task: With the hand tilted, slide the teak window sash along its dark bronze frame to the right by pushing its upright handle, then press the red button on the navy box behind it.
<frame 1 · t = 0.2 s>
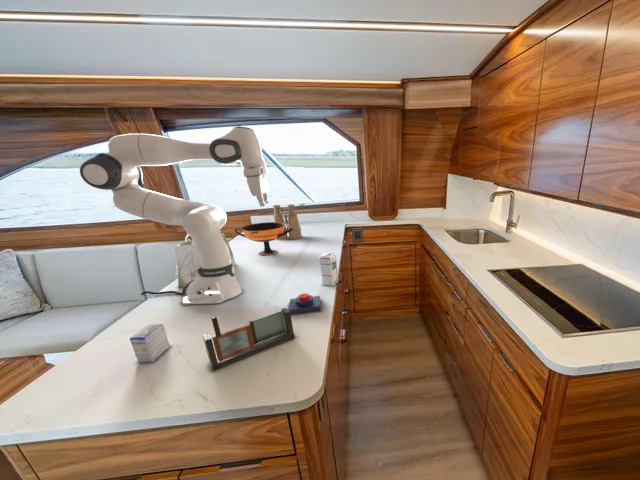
hand: (264, 204, 125), 39 cm above the counter, tool pointing down, fingers open, 8 cm apart
grocery bag: (209, 274, 157), on the counter
button: (303, 297, 119), point 4 cm above the counter, slide at 0.1 cm
binoculars: (288, 237, 230), on the counter
window frame: (255, 350, 93), on the counter
medicine box: (155, 354, 92), on the counter
sash: (232, 334, 87), point 9 cm above the counter, slide at 0.0 cm
cup: (268, 253, 193), on the counter
syrup box: (330, 283, 144), on the counter
button box: (305, 307, 120), on the counter
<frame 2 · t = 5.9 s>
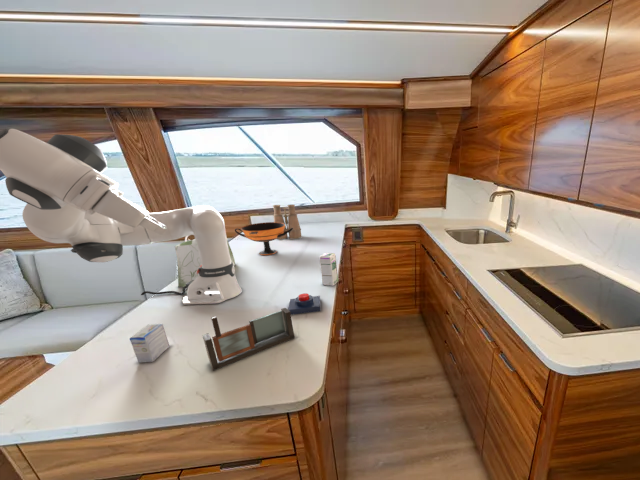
hand: (164, 230, 74), 40 cm above the counter, tool tilted 45°, fingers open, 8 cm apart
nothing on the counter moved.
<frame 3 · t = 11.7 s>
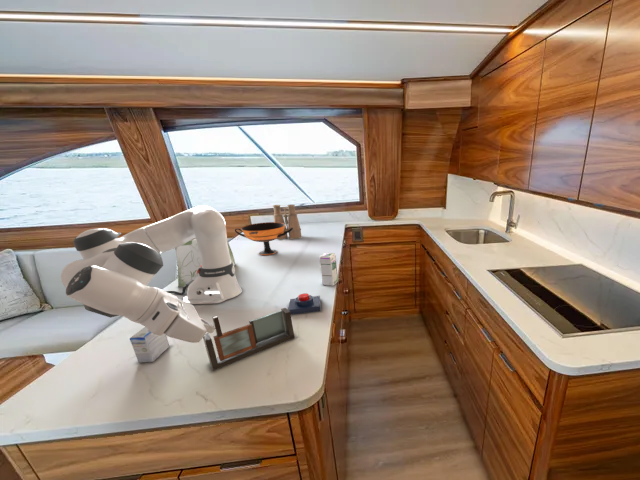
hand: (212, 328, 83), 12 cm above the counter, tool tilted 45°, fingers closed, pressing on sash
sash: (233, 333, 87), point 9 cm above the counter, slide at 0.3 cm, touching gripper
everything else where it was.
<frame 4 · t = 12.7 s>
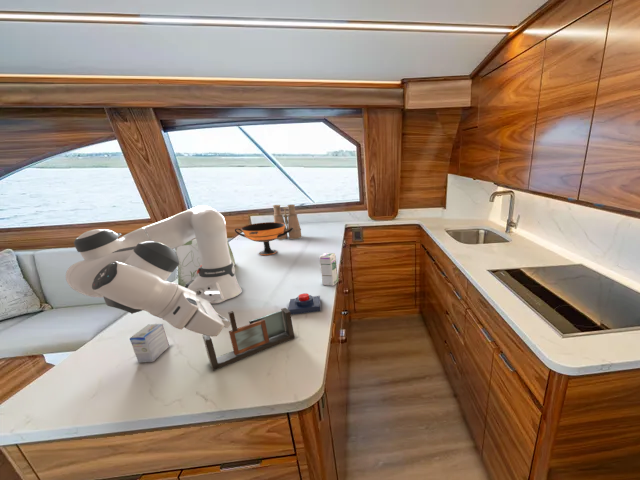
hand: (228, 323, 85), 12 cm above the counter, tool tilted 45°, fingers closed, pressing on sash
sash: (248, 328, 89), point 9 cm above the counter, slide at 4.3 cm, touching gripper
everything else where it was.
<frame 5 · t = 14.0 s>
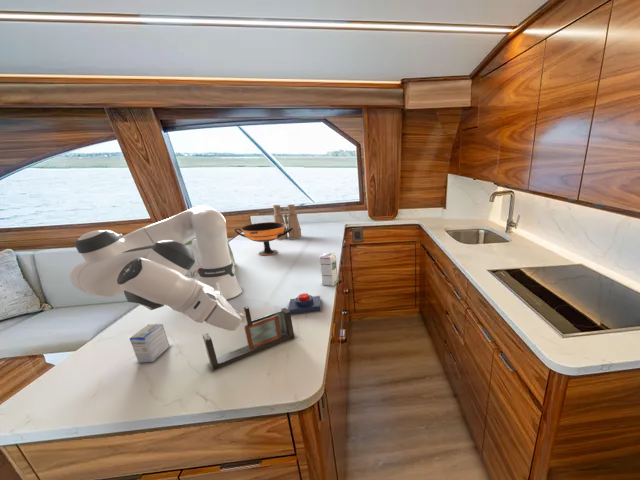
hand: (243, 319, 88), 12 cm above the counter, tool tilted 45°, fingers closed, pressing on sash
sash: (262, 323, 92), point 9 cm above the counter, slide at 8.4 cm, touching gripper
everything else where it was.
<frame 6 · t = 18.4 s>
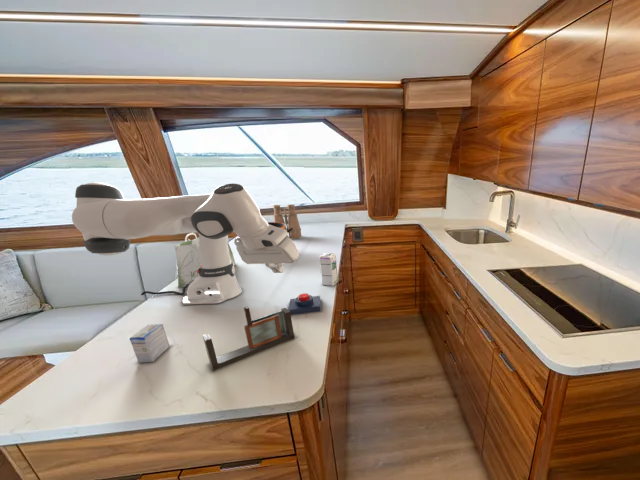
hand: (279, 271, 97), 22 cm above the counter, tool tilted 20°, fingers closed
sash: (262, 323, 92), point 9 cm above the counter, slide at 8.4 cm
everything else where it was.
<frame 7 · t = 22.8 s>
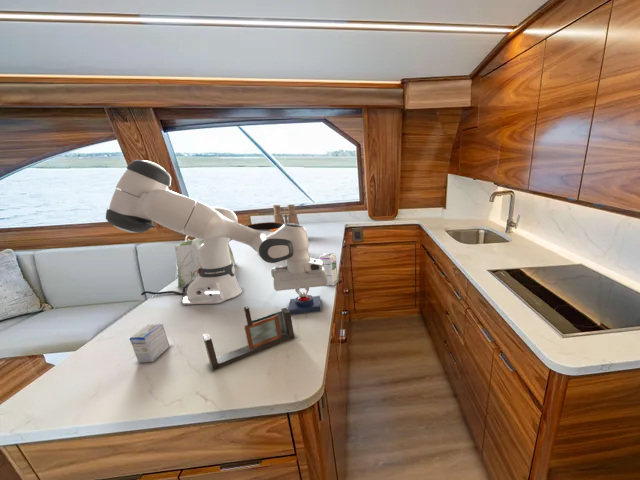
hand: (303, 297, 119), 5 cm above the counter, tool pointing down, fingers closed, pressing on button
button: (304, 299, 119), point 4 cm above the counter, slide at -0.8 cm, touching gripper
everything else where it was.
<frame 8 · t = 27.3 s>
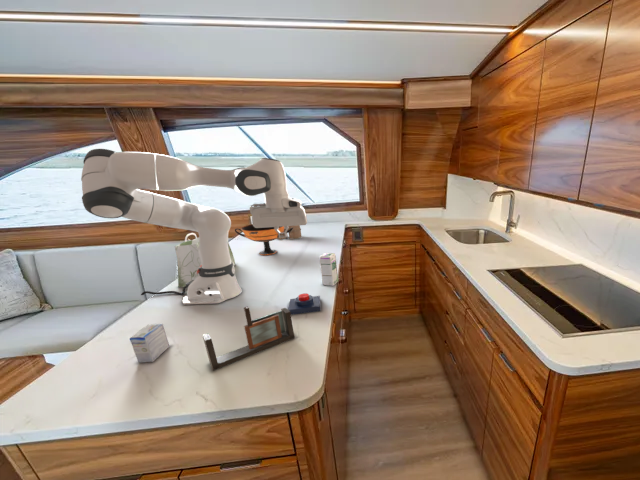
hand: (282, 237, 120), 27 cm above the counter, tool pointing down, fingers closed
button: (303, 297, 119), point 4 cm above the counter, slide at 0.1 cm
everything else where it was.
at the end: sash slide at 8.4 cm; button pushed in 1.1 cm at the most during the clip, back to where it started at the end; button slide at 0.1 cm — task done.
